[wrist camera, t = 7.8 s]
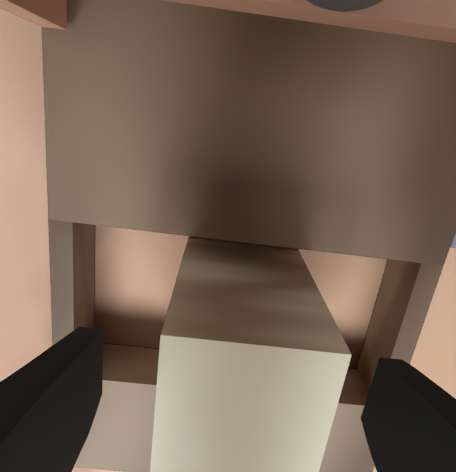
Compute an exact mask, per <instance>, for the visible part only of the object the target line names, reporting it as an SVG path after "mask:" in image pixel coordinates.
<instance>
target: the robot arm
mask: <svg viewBox="0 0 456 472" xmlns="http://www.w3.org/2000/svg"><path fill="white" fill-rule="evenodd" d="M102 379H103V329H97V328H87V327H78V328H77V329H75V330H74V331H72V332H71V333H69V334H68V335H67V336H65V337H64V338H62V339H61V340H60V341H58V342H57V343H56V344H54V345H53V346H51V347H50V348H49V349H47V350H46V351H45V352H43V353H42V354H40V355H39V356H38V357H36V358H35V359H33V360H32V361H30V362H29V363H28V364H26V365H25V366H23V367H22V368H20V369H19V370H18V371H16V372H15V373H13V374H12V375H10V376H9V377H7V378H6V379H4V380H3V381H1V382H0V472H72V470H73V467H74V465H75V463H76V461H77V459H78V457H79V454H80V452H81V450H82V448H83V446H84V444H85V441H86V439H87V437H88V435H89V432H90V429H91V426H92V423H93V421H94V418H95V415H96V412H97V409H98V405H99V402H100V399H101V396H102ZM361 421H362V425H363V429H364V432H365V436H366V440H367V443H368V447H369V450H370V453H371V457H372V459H373V462H374V464H375V467H376V470H377V472H456V399H455V398H454V397H452V396H451V395H450V394H448V393H447V392H446V391H444V390H443V389H442V388H441V387H439V386H438V385H437V384H435V383H434V382H433V381H431V380H430V379H429V378H428V377H426V376H425V375H424V374H422V373H421V372H420V371H418V370H417V369H415V368H414V367H413V366H411V365H410V364H408V363H407V362H405V361H404V360H402V359H392V358H382V357H380V358H379V361H378V364H377V367H376V370H375V374H374V377H373V380H372V383H371V386H370V390H369V393H368V396H367V399H366V403H365V406H364V409H363V412H362V415H361Z"/></svg>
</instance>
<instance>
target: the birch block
mask: <svg viewBox="0 0 456 472" xmlns="http://www.w3.org/2000/svg"><path fill="white" fill-rule="evenodd" d="M351 355H352V354H351V352H350V350H349V349H348V347H347V345H346V343H345V341H344V339H343V337H342V335H341V333H340V331H339V329H338V327H337V325H336V323H335V321H334V319H333V317H332V315H331V313H330V311H329V309H328V307H327V305H326V303H325V302H324V300H323V298H322V296H321V294H320V292H319V290H318V288H317V286H316V284H315V282H314V280H313V278H312V276H311V274H310V272H309V270H308V268H307V266H306V264H305V262H304V260H303V258H302V257H301V255H300V253H299V251H297V250H289V249H280V248H272V247H263V246H255V245H246V244H238V243H229V242H220V241H212V240H203V239H195V238H188V241H187V245H186V248H185V252H184V255H183V259H182V262H181V266H180V269H179V273H178V276H177V280H176V283H175V286H174V290H173V293H172V297H171V300H170V304H169V307H168V311H167V314H166V318H165V321H164V324H163V328H162V331H161V335H160V348H159V361H158V374H157V387H156V400H155V413H154V426H153V438H152V451H151V464H150V472H319V470H320V466H321V462H322V459H323V455H324V452H325V448H326V445H327V441H328V437H329V434H330V430H331V427H332V423H333V420H334V416H335V413H336V409H337V405H338V402H339V398H340V395H341V391H342V388H343V384H344V380H345V377H346V373H347V370H348V366H349V363H350V359H351Z"/></svg>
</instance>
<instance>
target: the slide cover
mask: <svg viewBox="0 0 456 472" xmlns="http://www.w3.org/2000/svg"><path fill="white" fill-rule="evenodd" d="M164 1H170V2H177V3H184V4H191V5H198V6H205V7H212V8H218V9H225V10H232V11H239V12H246V13H253V14H260V15H267V16H273V17H280V18H287V19H294V20H301V21H308V22H315V23H321V24H328V25H335V26H342V27H349V28H356V29H363V30H370V31H376V32H383V33H390V34H397V35H404V36H411V37H418V38H425V39H431V40H438V41H445V42H452V43H456V0H164ZM0 8H2V9H4V10H6V11H8V12H10V13H13V14H15V15H17V16H19V17H22V18H24V19H26V20H28V21H31V22H33V23H35V24H37V25H40V26H42V27H48V28H55V29H62V30H67V0H0Z"/></svg>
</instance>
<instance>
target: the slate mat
mask: <svg viewBox="0 0 456 472" xmlns="http://www.w3.org/2000/svg"><path fill="white" fill-rule="evenodd" d="M450 247H452V248H456V230H455V233H454V236H453V239H452V242H451V245H450Z"/></svg>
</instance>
